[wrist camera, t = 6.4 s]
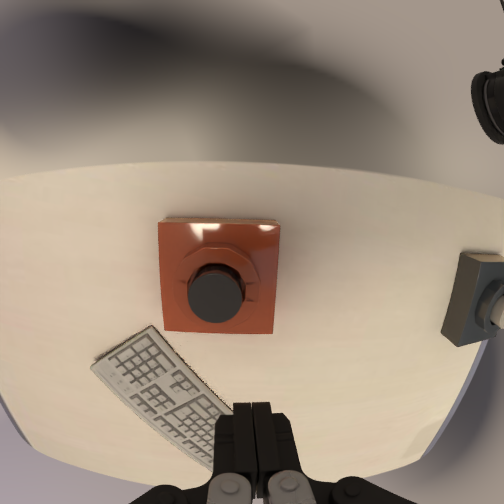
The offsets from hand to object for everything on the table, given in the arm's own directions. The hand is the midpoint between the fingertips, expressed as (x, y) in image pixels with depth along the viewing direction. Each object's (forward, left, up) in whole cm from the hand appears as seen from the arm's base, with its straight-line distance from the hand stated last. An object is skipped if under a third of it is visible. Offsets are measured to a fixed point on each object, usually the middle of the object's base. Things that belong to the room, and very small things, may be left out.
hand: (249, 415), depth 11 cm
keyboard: (+20, -5, -18) cm, 27 cm away
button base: (-1, -2, -17) cm, 18 cm away
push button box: (+2, +31, -17) cm, 36 cm away
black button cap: (-1, -2, -13) cm, 13 cm away
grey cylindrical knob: (+2, +31, -12) cm, 33 cm away
